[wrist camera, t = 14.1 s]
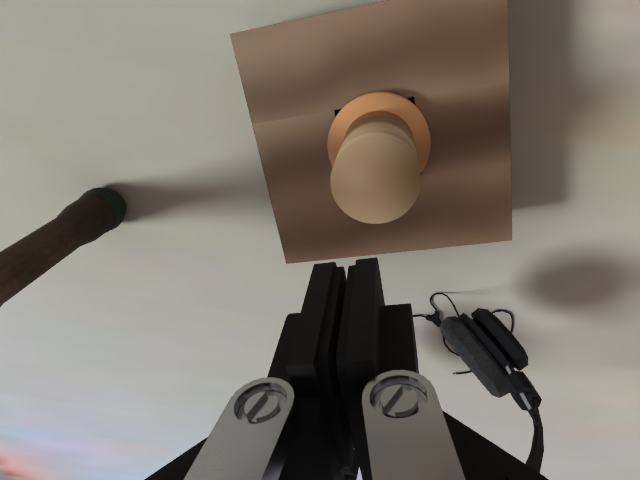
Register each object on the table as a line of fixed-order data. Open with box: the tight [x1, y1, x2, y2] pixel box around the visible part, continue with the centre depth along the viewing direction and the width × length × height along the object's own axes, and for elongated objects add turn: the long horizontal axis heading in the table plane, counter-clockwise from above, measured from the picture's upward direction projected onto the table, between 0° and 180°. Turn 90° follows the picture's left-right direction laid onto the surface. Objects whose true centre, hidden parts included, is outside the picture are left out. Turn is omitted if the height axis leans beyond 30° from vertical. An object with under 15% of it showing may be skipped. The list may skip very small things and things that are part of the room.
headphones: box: [343, 293, 544, 480], centre depth 33 cm, size 15×11×20 cm
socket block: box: [230, 0, 512, 264], centre depth 32 cm, size 16×16×5 cm
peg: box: [327, 91, 431, 224], centre depth 28 cm, size 6×6×13 cm
